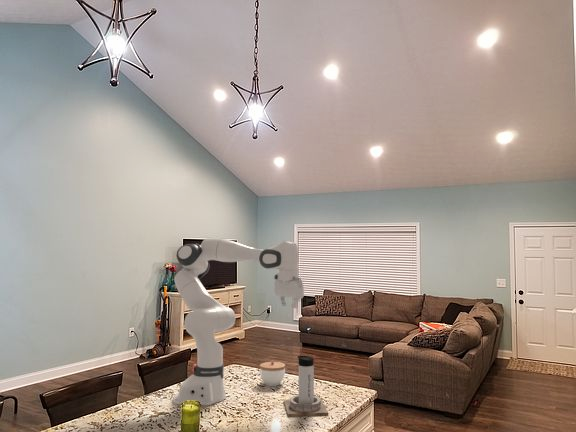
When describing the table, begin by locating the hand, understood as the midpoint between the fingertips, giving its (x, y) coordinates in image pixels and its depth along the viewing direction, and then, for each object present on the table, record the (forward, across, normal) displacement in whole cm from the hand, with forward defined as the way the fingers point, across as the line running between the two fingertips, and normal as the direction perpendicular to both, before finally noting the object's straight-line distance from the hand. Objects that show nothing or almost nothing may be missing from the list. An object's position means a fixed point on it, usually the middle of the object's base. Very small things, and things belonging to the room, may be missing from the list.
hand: (288, 307), depth 194 cm
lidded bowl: (+39, +19, -2) cm, 44 cm away
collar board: (+39, -17, +3) cm, 43 cm away
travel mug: (+38, -18, +3) cm, 42 cm away
